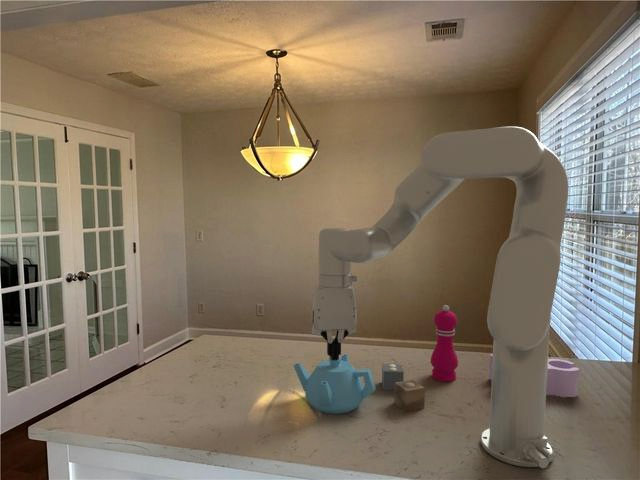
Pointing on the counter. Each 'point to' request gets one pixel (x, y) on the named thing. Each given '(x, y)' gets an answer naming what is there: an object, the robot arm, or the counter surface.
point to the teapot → (335, 385)
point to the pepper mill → (444, 346)
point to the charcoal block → (391, 375)
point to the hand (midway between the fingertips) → (333, 357)
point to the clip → (558, 378)
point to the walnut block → (409, 395)
